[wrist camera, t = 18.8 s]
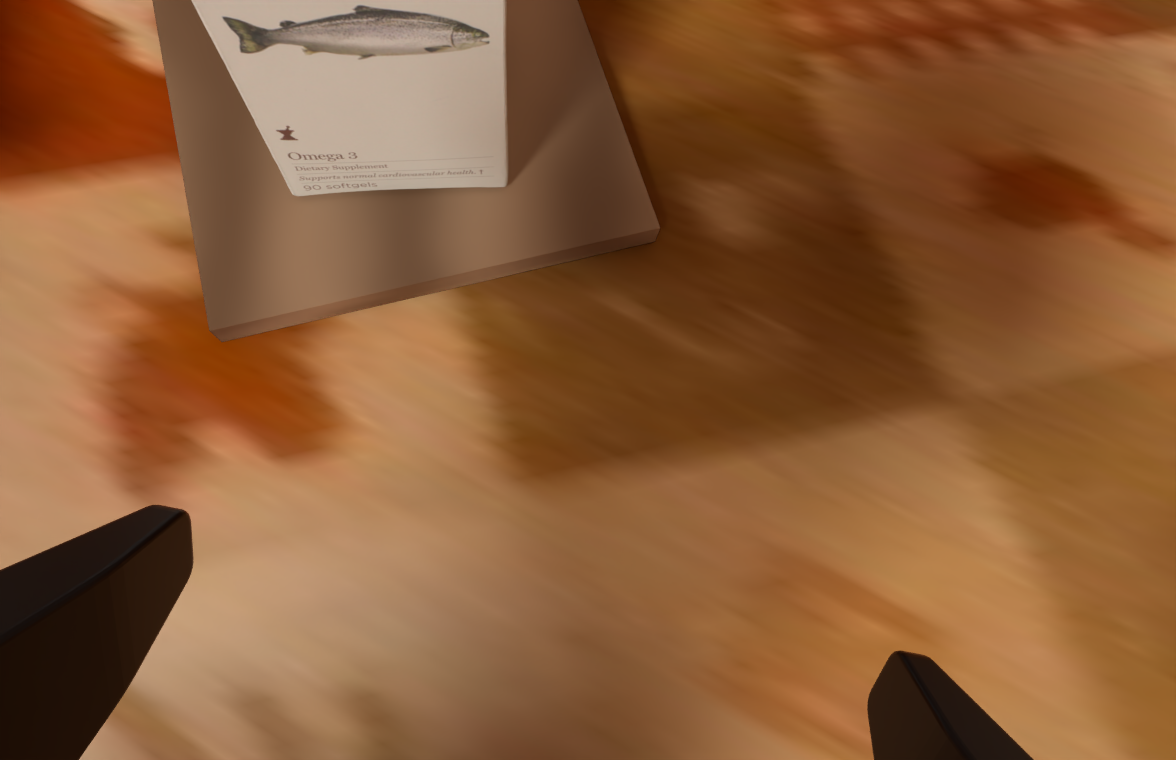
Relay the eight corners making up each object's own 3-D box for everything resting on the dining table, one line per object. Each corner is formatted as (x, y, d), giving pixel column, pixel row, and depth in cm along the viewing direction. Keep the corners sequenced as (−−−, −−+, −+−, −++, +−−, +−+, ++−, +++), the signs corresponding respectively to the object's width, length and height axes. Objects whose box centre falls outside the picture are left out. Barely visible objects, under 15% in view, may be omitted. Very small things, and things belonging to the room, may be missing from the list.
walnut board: (221, 342, 23) (209, 330, 22) (157, -20, 27) (145, -43, 26) (654, 241, 26) (660, 227, 25) (541, -76, 30) (542, -98, 29)
